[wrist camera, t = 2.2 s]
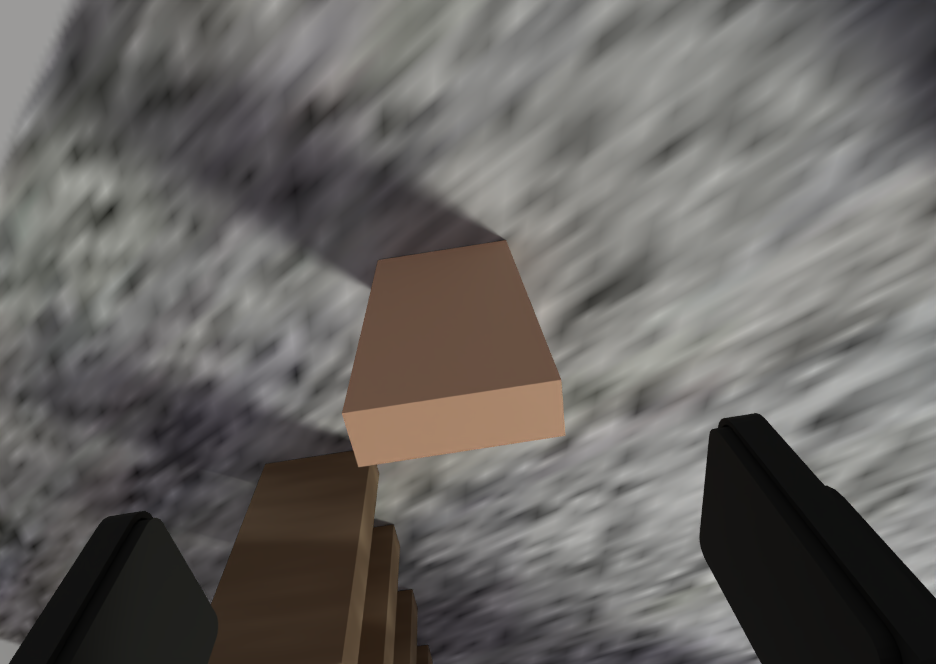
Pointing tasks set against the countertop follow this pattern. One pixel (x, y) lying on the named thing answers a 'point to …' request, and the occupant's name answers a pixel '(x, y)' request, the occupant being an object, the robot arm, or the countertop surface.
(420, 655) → the walnut domino
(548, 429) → the terracotta domino
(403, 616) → the walnut domino
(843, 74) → the countertop surface
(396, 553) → the walnut domino
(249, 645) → the walnut domino
